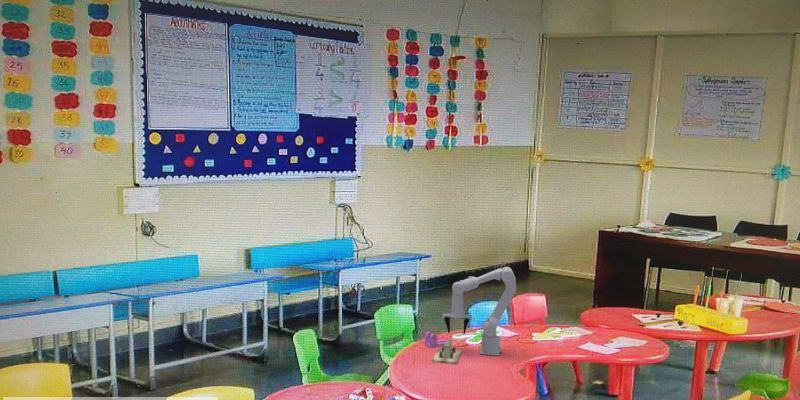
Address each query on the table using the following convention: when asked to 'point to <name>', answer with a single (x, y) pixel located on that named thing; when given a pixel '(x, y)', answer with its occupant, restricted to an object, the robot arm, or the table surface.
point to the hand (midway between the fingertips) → (456, 332)
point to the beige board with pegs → (452, 358)
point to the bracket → (433, 340)
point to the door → (447, 348)
